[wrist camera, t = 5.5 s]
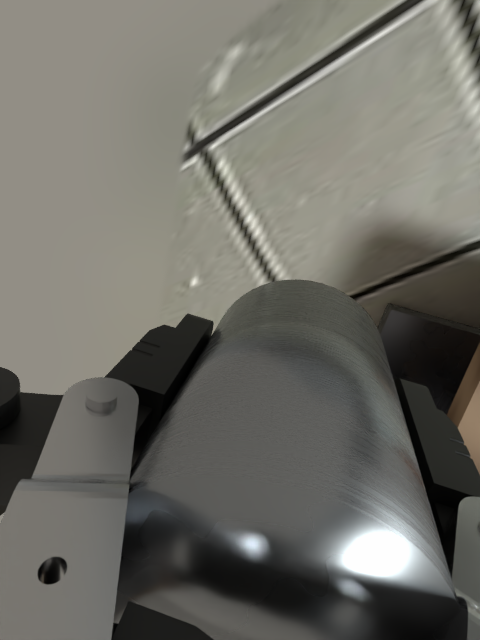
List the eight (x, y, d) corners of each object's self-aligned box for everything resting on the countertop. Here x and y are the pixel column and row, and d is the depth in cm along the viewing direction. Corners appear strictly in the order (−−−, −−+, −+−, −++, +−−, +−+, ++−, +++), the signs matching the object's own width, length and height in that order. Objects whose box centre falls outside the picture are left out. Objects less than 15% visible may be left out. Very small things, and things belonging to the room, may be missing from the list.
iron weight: (233, 257, 10) (97, 420, 4) (414, 310, 10) (559, 575, 4) (200, 399, 13) (80, 644, 6) (348, 447, 12) (372, 758, 6)
